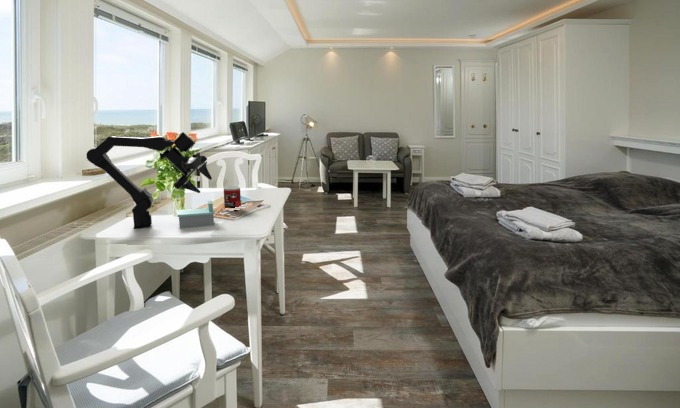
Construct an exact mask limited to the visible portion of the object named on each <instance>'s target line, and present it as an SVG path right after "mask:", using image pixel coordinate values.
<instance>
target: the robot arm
mask: <svg viewBox="0 0 680 408" xmlns="http://www.w3.org/2000/svg"><path fill="white" fill-rule="evenodd" d="M195 144H196V142H195V141H194V139H192V137H191V136H189V135H187V133H185V132H184V131H183V132H181V133H180V134H179V136H178V137H177V138H176V139H175V140H173V139H167V137H165V136H163V135H158V136H151V137H133V136H132V137H131V136H115V135H110V136H108V137H106V139H105V140H103V141H102V142H101V143H100V144H98V145H97V146H96V147H94V148H90V149H89V150H88V151H87V152H86V159H87V161H89V162H90V164H93V165H94V166H95V167H98V168H99V169H101V170H103V171H104V172H105V173H106V174H108V176H110V177H111V178H112V179H113V180H114V181H115V182H116V183H117V184H118V185H119V186H120V187H121V188H123V190H124V191H126V192H127V193H128V195H129V196H130V197H131V199H132V201H133V203H135V205H134V206H133V208H132V209H131V212H132V217H133V229H141V228H144V229H145V228H151V226H152V224H153V223H152V222H153V221H152V214H151V213H150V210H149V209H150V208H151V207H152V205H153V203H154V198H153V193H150V191H148V190H147V188H146V187H144V188H143V189H141V188H139V187H138V186H137V184H135V183H133V181H132V180H131V179H130V178H128V176H126V175H125V174H124V173H123V172H122V171H121V170H120V169H119V168H118V167H117V166H116V165H115V164H114V163H113V162H112V160H111V158H110V156H109V155H108V154H107V153H109V151H110V150H112V149H113V148H114V147H128V148H129V147H131V148H145V149H149V150H153V151H157V152H158V151H159V152H160V153H159V155H160V156H159V160H161V161H162V160H164V158H165V159H166V160H167V161H168V162H170V163H171V165H173V166H174V167H173V169H175V170H176V169H177V170H179V172H180V173H181V174H180V175H181V176H180V177H179V178H177V180H176V181H174V183H173V186H174V188H175V189H176V190H177V191H178V189H180V190H183V189H185V190H188V191H191V192H194V193H197V194H199V193H201V190H200V189H198V187H197V186H195V184H193V183H192V181H191V179H188V178H189V177H190V176H191V175H192V174H193V173H194V172H195V171H196V170H197V171H198V172H199V173H201V174H202V175H203V176H204V177H205V178H206V179H208V180H210V181H211V180H212V179H213V178H212V176H211V174H210V172H209V170H208V167H207V163H208V158H207V157H206V156H205V155H201V154H200V153H198V152H194V153H193V154H192V155H191V157H189V156H187V155H185V156H184V154H182V153H187V152H188V151H189V150H190V149H192V147H194V145H195ZM173 145H174V146H173ZM170 147H172V148H171V149H170ZM162 151H163V152H162Z"/></svg>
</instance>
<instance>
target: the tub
mask: <svg viewBox="0 0 680 408" xmlns="http://www.w3.org/2000/svg"><path fill="white" fill-rule="evenodd" d="M214 215H215V214H210V215H197V216H183V217H178V223H179V224H178V225H179V229H186V228H188V229H189V228H197V227H211V226H215V220H214V219H215V217H214Z"/></svg>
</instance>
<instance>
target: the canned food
mask: <svg viewBox="0 0 680 408" xmlns="http://www.w3.org/2000/svg"><path fill="white" fill-rule="evenodd" d="M241 200H242V199H241V187H239V186H226V187H223V204H224V206H223V207H224V209H225V208H235V207H239V206H241V207H242V201H241Z"/></svg>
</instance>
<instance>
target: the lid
mask: <svg viewBox="0 0 680 408" xmlns="http://www.w3.org/2000/svg"><path fill="white" fill-rule="evenodd" d="M176 212H177V218H179V217H183V216H197V215H210V214H213V215H215V213H216V212H215V210H214V205H213V200H208V201H207V207H203V208H191V209H190V208H188V209H177V211H176Z"/></svg>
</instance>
